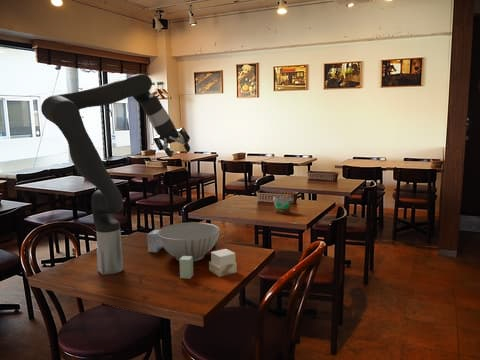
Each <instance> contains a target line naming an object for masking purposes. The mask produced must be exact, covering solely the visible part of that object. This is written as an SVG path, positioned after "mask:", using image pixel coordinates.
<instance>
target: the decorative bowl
mask: <svg viewBox="0 0 480 360" xmlns="http://www.w3.org/2000/svg"><path fill="white" fill-rule="evenodd" d="M158 230H159V231H158V233H157V234H158V238H159V240H160V242H161V244H162V246H163V249H165V251H166V252H167V253H168V254H170V255H171V256H173V257H174V258H175V260H177V261H179V259H180V258H181V257H182V256H193V262H198V261H200V260H202V259H204V257H205V255H207V254H208V253H209V252H211V250H212V249H213V248H214V246H215V245H216V242H217V241H218V238H219V235H220V228H219V226H217V225H216V224H212V223H207V222H182V223H175V224H170V225H167V226H164V227H162V228H160V229H158Z"/></svg>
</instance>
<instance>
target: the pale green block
mask: <svg viewBox="0 0 480 360" xmlns="http://www.w3.org/2000/svg"><path fill="white" fill-rule="evenodd" d="M193 276H194V261H193V256H182V257H181V258H180V259H179V278H180V279H188V280H189V279H191V278H192V277H193Z"/></svg>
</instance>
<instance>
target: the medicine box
mask: <svg viewBox="0 0 480 360" xmlns="http://www.w3.org/2000/svg"><path fill="white" fill-rule="evenodd" d="M159 230H160V229H159V228H158V229H153V230H152V231H150V232H149V233H147V234H146V237H147V239H146V240H147V251H148V253H158V252H159V251H160V250H162V248H163V249H164V247H163V246H162V244H161V242H160V240H159V238H158V234H157V233H158V231H159Z"/></svg>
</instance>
